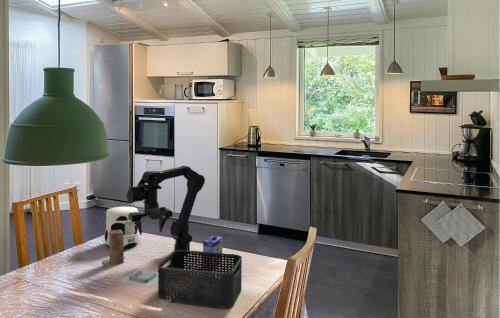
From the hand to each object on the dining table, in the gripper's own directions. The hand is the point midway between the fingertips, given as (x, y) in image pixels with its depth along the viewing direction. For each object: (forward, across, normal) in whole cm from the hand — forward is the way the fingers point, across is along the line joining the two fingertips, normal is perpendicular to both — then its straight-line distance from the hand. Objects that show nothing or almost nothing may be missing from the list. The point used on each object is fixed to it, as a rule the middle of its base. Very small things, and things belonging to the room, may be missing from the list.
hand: (150, 233), depth 184 cm
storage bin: (+13, +4, -41) cm, 43 cm away
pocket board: (+13, -9, -18) cm, 24 cm away
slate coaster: (+13, -14, +5) cm, 20 cm away
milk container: (+13, -4, +29) cm, 32 cm away
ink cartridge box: (+13, +22, -18) cm, 31 cm away
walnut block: (+12, -14, +5) cm, 19 cm away
